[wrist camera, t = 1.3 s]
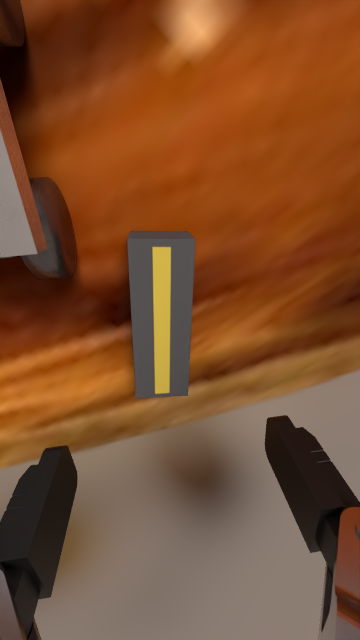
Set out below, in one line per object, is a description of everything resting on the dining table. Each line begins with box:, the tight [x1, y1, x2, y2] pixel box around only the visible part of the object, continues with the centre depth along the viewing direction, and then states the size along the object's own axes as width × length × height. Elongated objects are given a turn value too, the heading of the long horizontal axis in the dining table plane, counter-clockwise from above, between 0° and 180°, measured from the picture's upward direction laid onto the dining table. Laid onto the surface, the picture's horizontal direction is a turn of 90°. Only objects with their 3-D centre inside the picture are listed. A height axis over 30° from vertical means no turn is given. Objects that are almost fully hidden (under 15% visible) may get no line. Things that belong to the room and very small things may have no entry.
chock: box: [127, 231, 195, 398], centre depth 22 cm, size 13×4×4 cm, turn 179°
